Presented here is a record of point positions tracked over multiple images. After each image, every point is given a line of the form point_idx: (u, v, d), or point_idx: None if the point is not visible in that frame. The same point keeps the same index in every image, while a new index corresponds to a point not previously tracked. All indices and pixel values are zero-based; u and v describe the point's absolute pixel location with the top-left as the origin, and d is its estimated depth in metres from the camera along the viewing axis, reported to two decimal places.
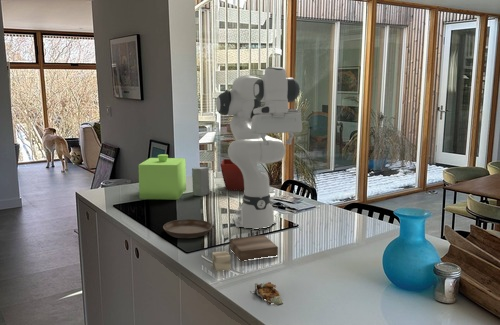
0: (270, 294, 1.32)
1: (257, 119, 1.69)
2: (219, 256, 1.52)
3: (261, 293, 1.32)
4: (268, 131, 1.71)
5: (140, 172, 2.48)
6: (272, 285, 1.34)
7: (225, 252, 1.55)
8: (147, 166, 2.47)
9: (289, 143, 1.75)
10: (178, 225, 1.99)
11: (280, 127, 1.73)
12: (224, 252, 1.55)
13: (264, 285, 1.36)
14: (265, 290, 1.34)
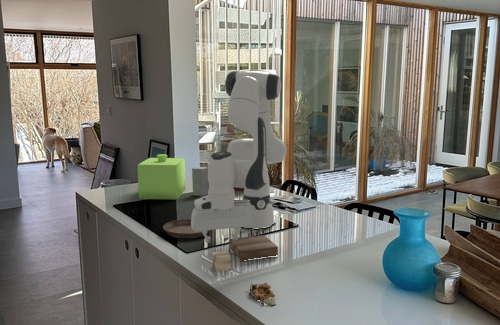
0: (264, 295, 1.31)
1: (197, 216, 1.46)
2: (219, 256, 1.52)
3: (255, 293, 1.32)
4: (210, 228, 1.49)
5: (139, 172, 2.48)
6: (267, 286, 1.34)
7: (225, 252, 1.55)
8: (146, 166, 2.47)
9: (235, 239, 1.53)
10: (178, 225, 1.99)
11: (224, 222, 1.50)
12: (224, 252, 1.55)
13: (259, 286, 1.35)
14: (260, 291, 1.33)
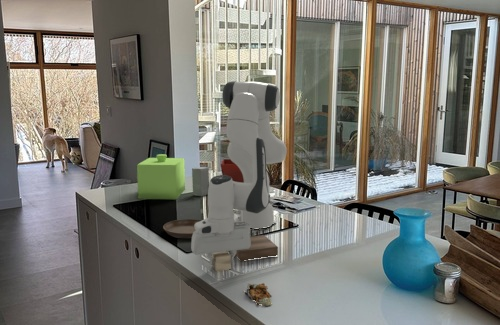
0: (260, 295, 1.31)
1: (197, 240, 1.48)
2: (219, 256, 1.52)
3: (251, 294, 1.32)
4: (210, 251, 1.50)
5: (139, 172, 2.48)
6: (264, 286, 1.33)
7: (225, 252, 1.55)
8: (146, 166, 2.47)
9: (231, 261, 1.54)
10: (178, 225, 1.99)
11: (224, 245, 1.52)
12: (223, 252, 1.55)
13: (256, 286, 1.35)
14: (256, 291, 1.33)
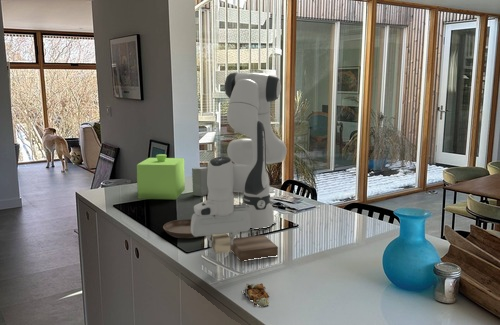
0: (258, 295, 1.31)
1: (196, 222, 1.47)
2: (219, 238, 1.51)
3: (249, 294, 1.32)
4: (209, 233, 1.50)
5: (138, 172, 2.48)
6: (262, 286, 1.33)
7: (225, 234, 1.55)
8: (145, 166, 2.47)
9: (230, 244, 1.54)
10: (178, 225, 1.99)
11: (224, 227, 1.51)
12: (223, 234, 1.55)
13: (255, 286, 1.35)
14: (254, 291, 1.33)
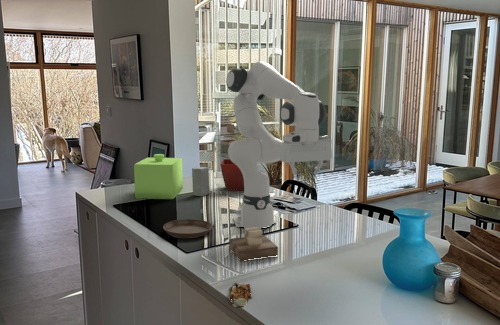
0: (238, 295, 1.31)
1: (287, 148, 1.64)
2: (251, 231, 1.65)
3: (231, 292, 1.33)
4: (297, 159, 1.67)
5: (136, 172, 2.49)
6: (245, 287, 1.33)
7: (256, 228, 1.69)
8: (142, 166, 2.48)
9: (317, 171, 1.71)
10: (178, 225, 1.99)
11: (310, 155, 1.68)
12: (255, 228, 1.69)
13: (240, 285, 1.35)
14: (237, 290, 1.33)
